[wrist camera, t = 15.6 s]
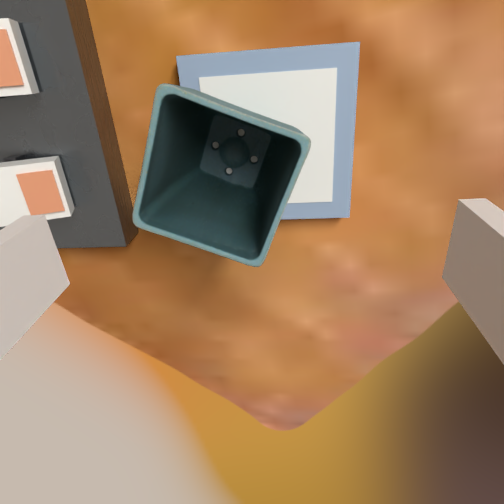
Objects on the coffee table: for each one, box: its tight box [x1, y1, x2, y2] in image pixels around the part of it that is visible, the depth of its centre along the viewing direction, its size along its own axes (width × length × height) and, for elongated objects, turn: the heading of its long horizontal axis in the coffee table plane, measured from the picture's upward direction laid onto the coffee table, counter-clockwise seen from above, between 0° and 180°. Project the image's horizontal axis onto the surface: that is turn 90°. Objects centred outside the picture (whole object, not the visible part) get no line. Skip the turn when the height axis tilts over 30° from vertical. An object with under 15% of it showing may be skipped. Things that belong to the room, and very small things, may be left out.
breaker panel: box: [0, 0, 138, 248], centre depth 29 cm, size 20×14×4 cm
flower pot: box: [132, 84, 311, 267], centre depth 25 cm, size 9×9×9 cm
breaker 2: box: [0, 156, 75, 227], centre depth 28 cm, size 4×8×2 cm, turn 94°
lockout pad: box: [176, 42, 360, 219], centre depth 29 cm, size 13×13×2 cm
